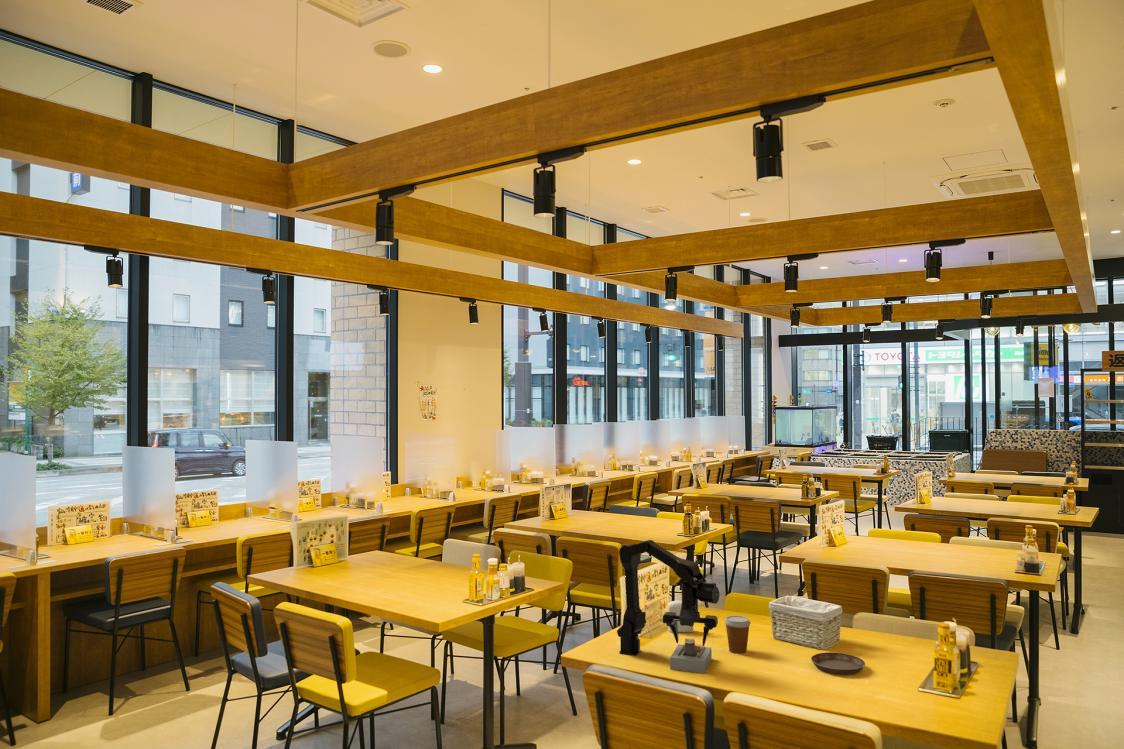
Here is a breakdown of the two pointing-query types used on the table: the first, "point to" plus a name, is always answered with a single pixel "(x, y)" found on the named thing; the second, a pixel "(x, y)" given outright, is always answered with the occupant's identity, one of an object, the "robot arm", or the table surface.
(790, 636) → the storage basket
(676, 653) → the socket
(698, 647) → the shutter
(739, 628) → the disposable coffee cup
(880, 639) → the table surface
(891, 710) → the table surface
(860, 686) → the table surface
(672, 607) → the photo printer
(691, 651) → the grey cylinder
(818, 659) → the plant saucer
